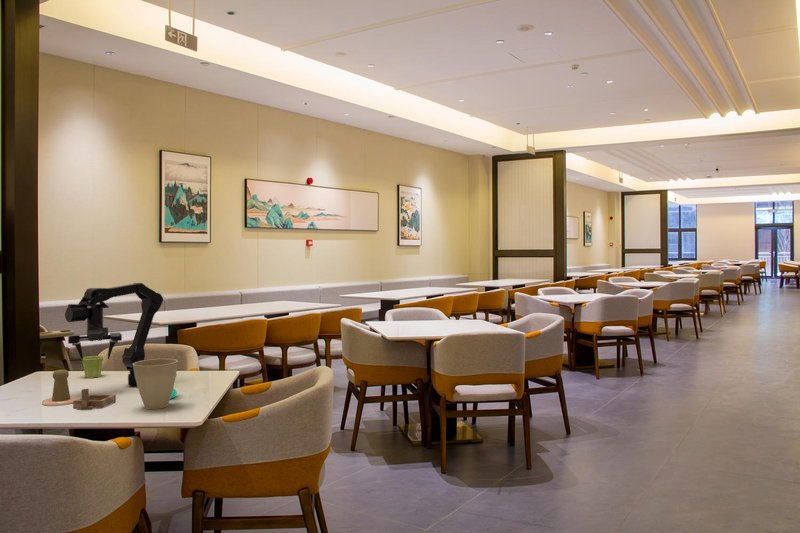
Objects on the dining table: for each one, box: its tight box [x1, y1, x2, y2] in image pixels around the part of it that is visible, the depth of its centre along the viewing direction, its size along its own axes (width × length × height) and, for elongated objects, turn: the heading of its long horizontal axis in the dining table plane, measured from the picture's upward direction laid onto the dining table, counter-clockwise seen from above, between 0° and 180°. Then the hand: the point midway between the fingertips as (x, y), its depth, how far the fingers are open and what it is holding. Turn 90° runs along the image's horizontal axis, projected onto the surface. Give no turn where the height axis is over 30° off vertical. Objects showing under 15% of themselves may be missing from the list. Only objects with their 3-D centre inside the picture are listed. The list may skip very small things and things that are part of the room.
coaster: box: [41, 395, 80, 407], centre depth 230 cm, size 12×12×1 cm
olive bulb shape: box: [51, 369, 71, 402], centre depth 230 cm, size 6×6×11 cm
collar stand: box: [72, 388, 117, 411], centre depth 224 cm, size 12×10×7 cm
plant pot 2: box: [133, 358, 179, 410], centre depth 222 cm, size 15×15×16 cm
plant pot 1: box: [81, 355, 105, 379], centre depth 279 cm, size 9×9×9 cm
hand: (95, 359), depth 245 cm, fingers open, 9 cm apart
